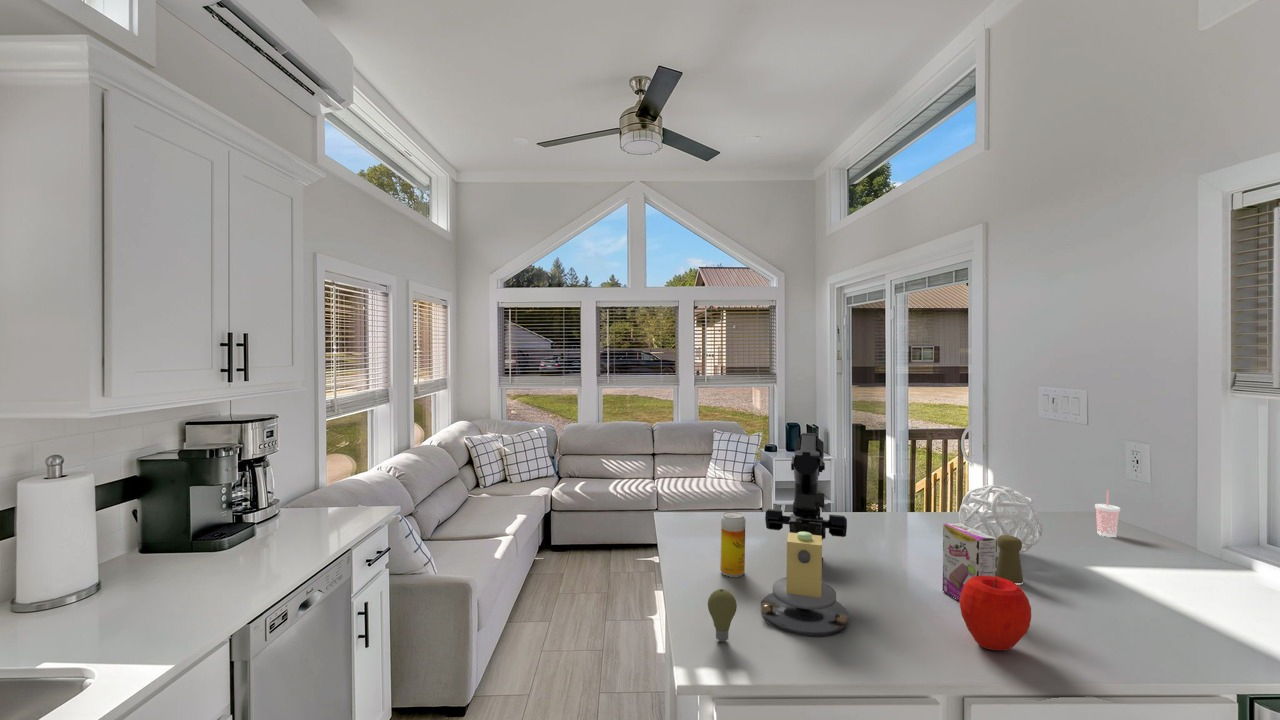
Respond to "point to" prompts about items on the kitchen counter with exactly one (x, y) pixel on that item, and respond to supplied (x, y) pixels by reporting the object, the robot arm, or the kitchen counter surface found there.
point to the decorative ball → (1019, 505)
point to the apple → (995, 611)
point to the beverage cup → (1107, 518)
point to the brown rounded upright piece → (1009, 558)
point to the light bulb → (722, 612)
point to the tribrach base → (804, 618)
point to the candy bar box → (966, 556)
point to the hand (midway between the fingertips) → (804, 556)
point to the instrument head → (804, 574)
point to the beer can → (732, 544)
